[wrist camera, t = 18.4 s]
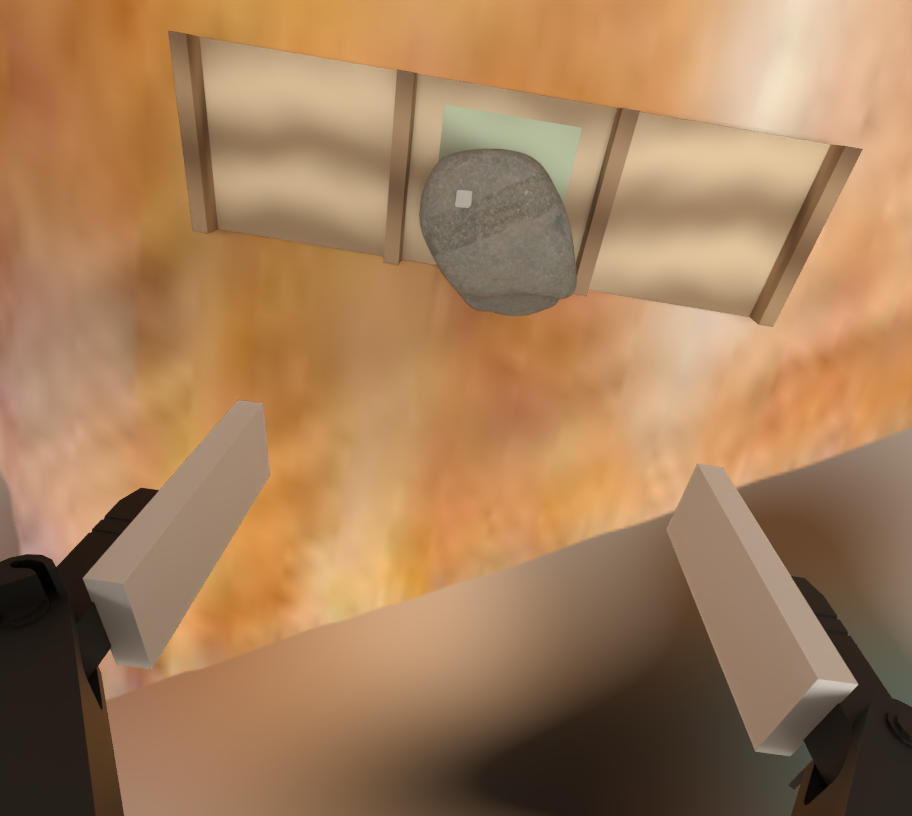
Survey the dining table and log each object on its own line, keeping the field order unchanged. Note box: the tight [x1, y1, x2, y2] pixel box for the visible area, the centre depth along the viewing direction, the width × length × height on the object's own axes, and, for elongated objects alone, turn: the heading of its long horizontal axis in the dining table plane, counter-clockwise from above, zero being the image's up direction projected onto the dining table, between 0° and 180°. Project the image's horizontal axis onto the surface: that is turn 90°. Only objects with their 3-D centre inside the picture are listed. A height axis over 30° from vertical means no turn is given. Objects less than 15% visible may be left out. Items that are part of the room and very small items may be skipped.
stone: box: [419, 149, 577, 316], centre depth 32 cm, size 9×9×10 cm
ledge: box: [168, 31, 862, 327], centre depth 33 cm, size 11×40×4 cm, turn 82°
